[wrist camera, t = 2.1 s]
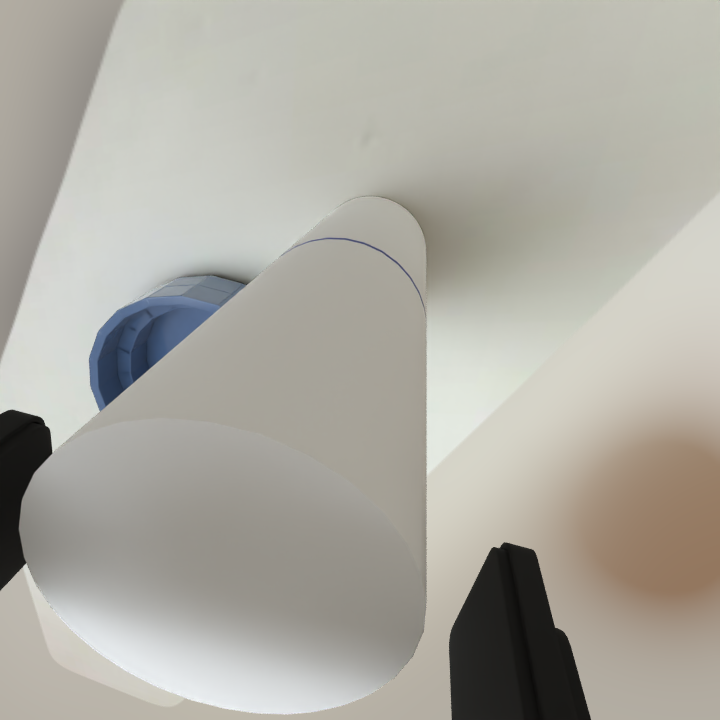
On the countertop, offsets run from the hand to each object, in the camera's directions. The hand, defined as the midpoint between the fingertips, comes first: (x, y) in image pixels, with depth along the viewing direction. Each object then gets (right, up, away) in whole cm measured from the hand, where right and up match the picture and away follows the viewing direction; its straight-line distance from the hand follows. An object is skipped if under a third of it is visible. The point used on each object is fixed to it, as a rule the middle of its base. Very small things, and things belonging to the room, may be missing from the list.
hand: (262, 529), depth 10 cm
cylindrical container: (+3, +10, +21) cm, 23 cm away
